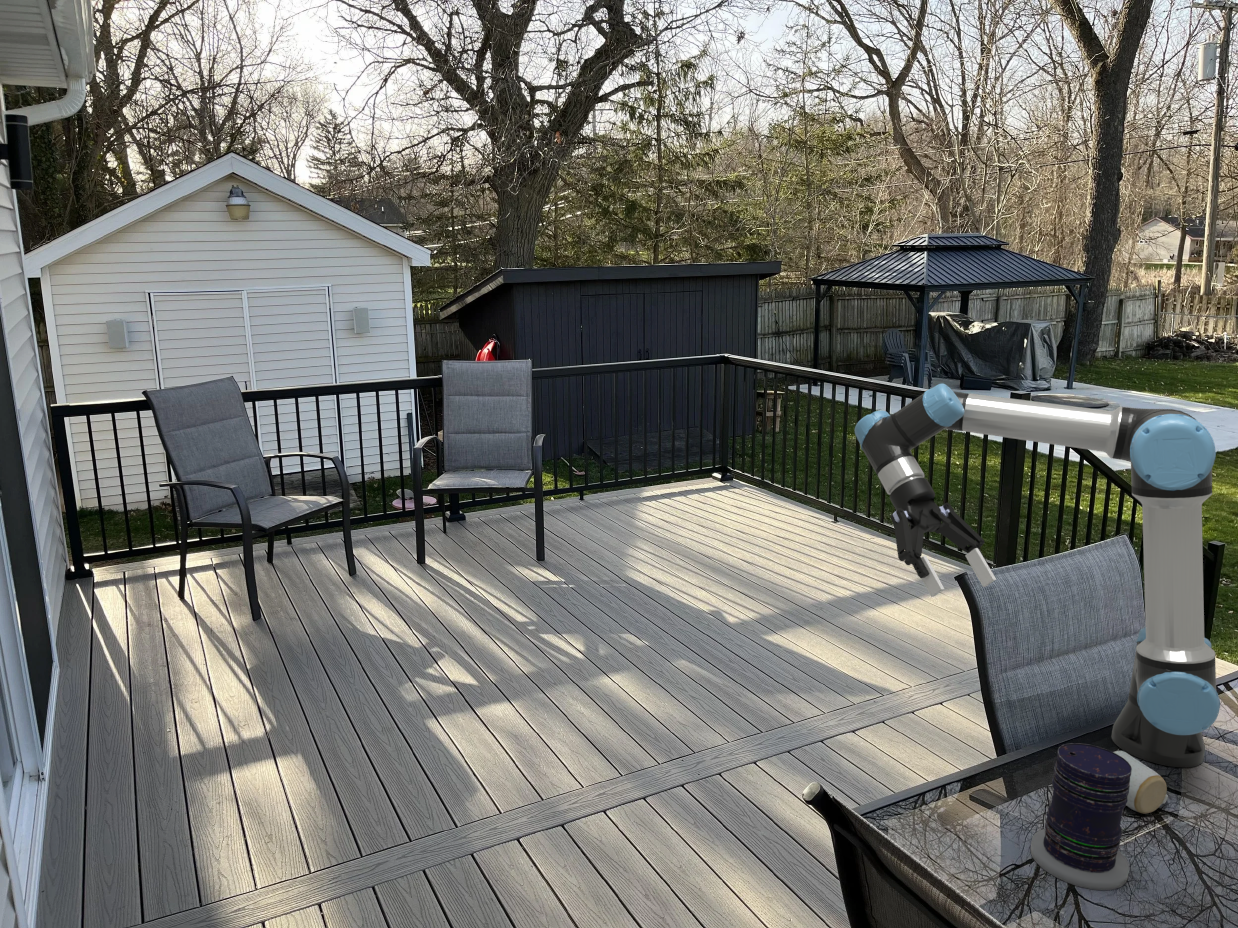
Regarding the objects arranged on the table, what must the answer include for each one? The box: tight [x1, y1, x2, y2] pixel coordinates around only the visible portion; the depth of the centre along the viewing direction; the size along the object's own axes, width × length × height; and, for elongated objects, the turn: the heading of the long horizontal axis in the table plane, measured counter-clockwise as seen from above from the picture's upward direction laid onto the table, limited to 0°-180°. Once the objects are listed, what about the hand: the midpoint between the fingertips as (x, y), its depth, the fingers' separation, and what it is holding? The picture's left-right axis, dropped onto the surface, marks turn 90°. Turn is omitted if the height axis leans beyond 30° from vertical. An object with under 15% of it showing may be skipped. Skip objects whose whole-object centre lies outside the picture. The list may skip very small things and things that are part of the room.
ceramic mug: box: [1113, 750, 1169, 814], centre depth 154 cm, size 11×8×8 cm
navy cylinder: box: [1043, 742, 1132, 873], centre depth 135 cm, size 10×10×15 cm
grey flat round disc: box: [1030, 828, 1130, 891], centre depth 136 cm, size 13×13×2 cm
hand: (964, 588), depth 161 cm, fingers open, 13 cm apart
